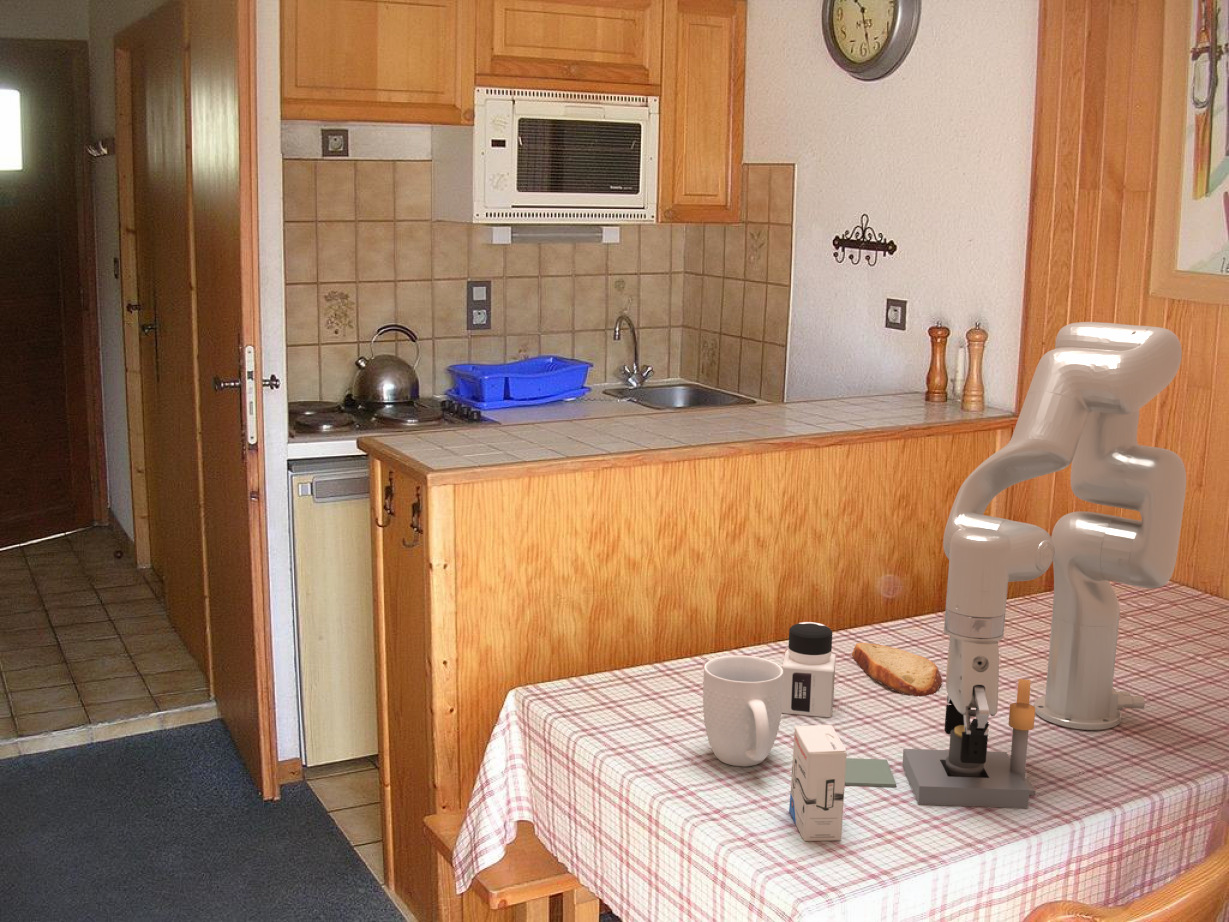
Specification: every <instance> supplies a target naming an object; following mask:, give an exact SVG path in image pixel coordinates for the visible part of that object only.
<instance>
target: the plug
mask: <svg viewBox="0 0 1229 922" xmlns="http://www.w3.org/2000/svg"><path fill="white" fill-rule="evenodd" d="M962 732H965V727H964V725H959V726H956V727H955V729H953V730H951V732H950V734H949V735H950V736H949V746H948V747H949V749H948V750H949V756H948V757H947V758H946V766H947V767H948V777H977V778H980V773H981V771H983V769H984V764H976V763H962V762H961V760H960V751H961V738H962Z"/></svg>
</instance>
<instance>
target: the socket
mask: <svg viewBox="0 0 1229 922" xmlns="http://www.w3.org/2000/svg"><path fill="white" fill-rule="evenodd" d="M1029 731H1030V730H1018V729H1014V728H1012V734H1011V746H1010V747H1011V748H1010V749H1011V750H1010V756H1009V754H1008V752H1007V751H988V750H987V754H986V762H985V763H984V769H983V771H981V773H980V778H977V777H948V767H947V766H946V758H947V757H948V756H949V749H928V748H927V749H924V748H922V749H921V748H920V749H919V748H903V752H902V768H903V771H904V773H905V774H906V775H905V776H906V778H907V780H908V783H909V785H910V787H911V790H912V792H913V795H914V797H915V800H916V802H917V805H927V806H928V805H931V806H932V805H934V806H957V807H958V806H960V807H987V808H989V807H990V808H1014V809H1029V802H1030V796H1036V793H1037V792H1036V791H1037V790H1036V789H1035V788H1034V786H1033V784H1032V783H1031V781H1030V779H1029V778H1028V777H1026V768H1027V756H1028V745H1029V744H1028V743H1029Z"/></svg>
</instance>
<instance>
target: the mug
mask: <svg viewBox="0 0 1229 922" xmlns="http://www.w3.org/2000/svg"><path fill="white" fill-rule="evenodd" d="M782 699H783V669H782V666H780V665H779V664H777V663H776V662H774V661H773V660H769V659H767V658H765V657H764V658H762V657H758V656H752V655H739V654H738V655H724V656H720V657H719V656H718V657H715V658H712V659H710V660H708V661H706V663H705V664H704V667H703V686H702V708H703V714H702V715H703V723H704V728H705V733H706V736H707V741H708V744H709V746H710V748H711V750H712V751H713V754H714V756H716V759H718V760H719V761H720V762H722V763H724V764H727V765H729V766H734V767H753V766H756V765H759V764H761V763H762V762H764V760H765V759H766V758H767V757H768V755H769V754H770V752H771V750H772V748H773V746H774V745H775V742H776V739H777V735H778V732H779V730H780V729H779V727H780V724H781V717H782V714H783V713H782V701H783V700H782Z"/></svg>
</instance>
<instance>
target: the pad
mask: <svg viewBox="0 0 1229 922" xmlns="http://www.w3.org/2000/svg"><path fill="white" fill-rule="evenodd" d="M888 761H889V760H888V759H883V758H881V759H880V758H852V757H851V758H850V757H846V771H845V786H853V787H855V786H857V787H880V788H881V787H887V788H888V787H889V788H897V782H896V779H895V777H894V774H893V772H892V768H891V767H890V764H889V762H888Z"/></svg>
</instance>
